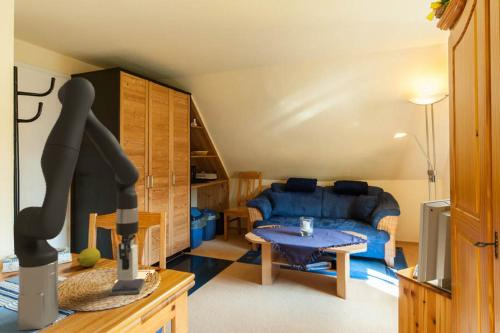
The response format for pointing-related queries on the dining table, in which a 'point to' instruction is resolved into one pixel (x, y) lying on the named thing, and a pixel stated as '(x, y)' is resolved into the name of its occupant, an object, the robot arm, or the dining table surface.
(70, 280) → the dining table surface
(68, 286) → the dining table surface
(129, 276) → the skincare box
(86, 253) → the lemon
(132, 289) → the pad
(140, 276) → the paper sheet
